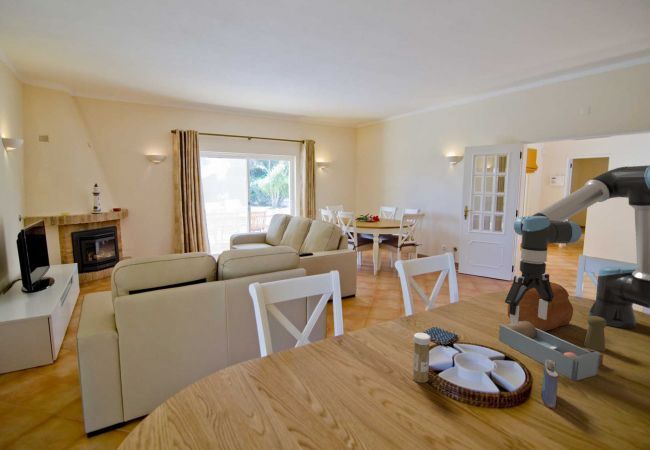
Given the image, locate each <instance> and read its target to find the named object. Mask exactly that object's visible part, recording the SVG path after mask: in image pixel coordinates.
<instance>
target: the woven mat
mask: <svg viewBox="0 0 650 450" xmlns="http://www.w3.org/2000/svg"><path fill="white" fill-rule="evenodd" d="M422 333H425V334H428V335H429V336H430V342H432V343H435V344H438V345H440V343H441V344H444V343H445V344H446V343H449V342H452V343H453V342H455V341H457V340H458V339H459V338H460V337H459V334H457V333H455V332H451V331H448V330H445V329H443V328H440V327H437V326H432V327H430V328H428V329H427V330H425V331H423V332H422Z"/></svg>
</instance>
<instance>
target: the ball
mask: <svg viewBox="0 0 650 450" xmlns="http://www.w3.org/2000/svg"><path fill="white" fill-rule="evenodd" d="M564 355H566V356H569V357H571V358H574V357H575V356H577V355H576V354H574V353H571V352H567V353H564Z"/></svg>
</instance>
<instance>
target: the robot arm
mask: <svg viewBox="0 0 650 450" xmlns="http://www.w3.org/2000/svg"><path fill="white" fill-rule="evenodd" d="M614 198H626V199H628V205H629V206H630V207H632V208H633V209H634V226H635V229H634V230H635V249H636V252H635V253H636V268H637V269H636V268H633V267H626V266H602V267H600V268H599V271H598V275H597V285H596V293H595V295H596V296H595V301H594V302H593V304H592V306H591V307H590V309H589V311H588V318H589V317H590V316H598V317H601V318H604V319H605V320H606V322H607V325H606V326H609V327H615V328H620V329H621V328H622V329H624V328H625V329H631V328H635V327H636V326H637V318H636V315H635V312H634V308H633V304H634V305H638V306H640V307H644V308H646V309H649V310H650V164H649V165H634V166H620V167H616V168H613V169H611V170H608V171H606V172H603V173H601V174H599V175H597V176H594V177H593V178H591V179H589V180H587V181H586V182H584V185H583V186H582V187H580V188H579V189H577V190H574V191H573V192H572V193H569V194H568V195H565V197H563V198H561V199H559V200H557V201H556V202H554V203H552V204H550V205H549V206H546V207H545V208H543V209H541V210H539V211H538V212H536V213H534V214H532V215H526V216H520V217H517V219H516V220H515V221H514V224H513V230H514V232H515V233H516V234H517V235H519V236H521V249H520V250H521V251H520V261H519V271H520V272H521V275H520V276H517V275H514V276H513V282H512V284H511V286H510V289H509V290H508V293H507V295H506V298H505V301H504V303H506V304H507V305H508V304H510V311H509V313H510V319H509V323H510V324H511V323H513V324H515V325H518V317H519V306H517V305H518V304H519V302H520V301H521V299H522V298H523V296H524V295H525V293H526V292H527V291H529V289H532V288H535V289H536V290H537V292H538V294H539V295H540V297H541V299H542V300H541V299H539V308H538V317H539V318H542V319H544V320H546V319H547V309H548V302H552V299H553V298H554V295H553V292H552V288H551V285H550V282H551V281H550V274H548V273H546V269H547V268H546V267H547V263H546V262H547V261H548V260H547V257H548V248H549V247H548V246H549V245H550V244H556V245H557V244H565V245H567V244H573V243H577V242H578V241H580V239H581V237H582V232H583V231H582V228H581V226H580V225H579V224H578V223H577V222H576V221H568V220H569V219H571V218H572V217H574V216H575V215H577V214H579V213H580V212H582V211H584V210H586V209H588V208H590V207H591V206H593V205H595V204H596V203H603V202H605V201H607V200H609V199H614ZM523 285H524V286H523ZM548 293H549V294H548Z"/></svg>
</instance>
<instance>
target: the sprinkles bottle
mask: <svg viewBox="0 0 650 450" xmlns="http://www.w3.org/2000/svg"><path fill="white" fill-rule="evenodd" d="M413 343H414V344H413V347H414V348H413V364H412V366H413V371H412V373H413V374H412V379H413V380H414V381H415V382H418V383H424V384H425V383H427V382H428V381H429V365H430V344H431V341H430V336H429V335H428V334H425V333H423V332H416V333H414V335H413Z"/></svg>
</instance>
